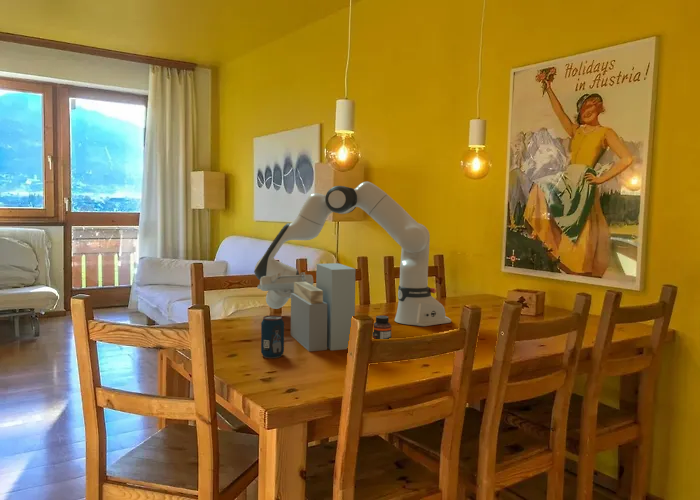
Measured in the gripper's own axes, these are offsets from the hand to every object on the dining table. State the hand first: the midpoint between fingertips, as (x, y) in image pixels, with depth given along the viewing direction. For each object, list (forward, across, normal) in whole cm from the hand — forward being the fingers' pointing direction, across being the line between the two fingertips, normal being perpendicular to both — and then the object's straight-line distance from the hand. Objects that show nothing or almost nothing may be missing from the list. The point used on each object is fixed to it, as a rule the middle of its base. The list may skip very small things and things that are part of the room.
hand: (291, 274), depth 205 cm
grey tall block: (+12, +8, +30) cm, 34 cm away
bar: (+16, 0, +15) cm, 22 cm away
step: (+9, 0, +28) cm, 30 cm away
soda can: (+19, -15, +34) cm, 42 cm away
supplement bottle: (+24, +19, +37) cm, 49 cm away
